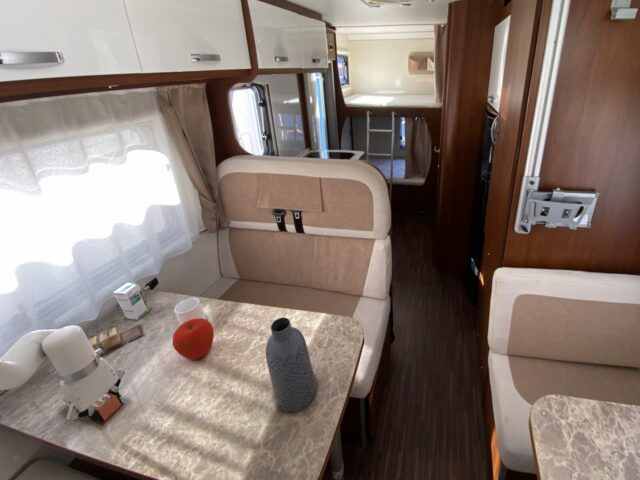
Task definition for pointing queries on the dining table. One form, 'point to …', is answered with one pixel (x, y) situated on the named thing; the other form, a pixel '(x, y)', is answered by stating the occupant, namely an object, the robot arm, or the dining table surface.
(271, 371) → the vase
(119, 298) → the syrup box
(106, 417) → the block
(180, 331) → the apple
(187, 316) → the mug
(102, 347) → the board
